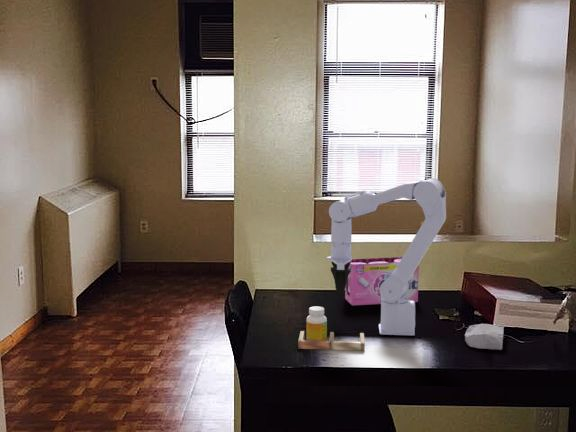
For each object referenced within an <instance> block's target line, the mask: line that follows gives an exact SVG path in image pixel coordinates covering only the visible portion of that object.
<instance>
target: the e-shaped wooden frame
mask: <svg viewBox="0 0 576 432" xmlns="http://www.w3.org/2000/svg"><path fill="white" fill-rule="evenodd" d="M299 332H300V333H299V337H298V341H297V347H298V349H299V350H300V349H303V350H324V351H325V350H330V351H332V350H333V351H353V352H356V351H357V352H359V351H360V352H365V346H366V345H365V344H366V343H365V333H364V332H360V333H359V341H345V340H344V341H343V340H342V341H341V340H335V332H334V331H329V340H327V341H318V340H306V339H305V330H300V331H299Z"/></svg>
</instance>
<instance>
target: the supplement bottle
mask: <svg viewBox="0 0 576 432" xmlns="http://www.w3.org/2000/svg"><path fill="white" fill-rule="evenodd" d="M308 314H309V315H308V316H307V317H306V320H305V321H306V322H305V323H306V330H305V331H306V333H305V334H306V335H305V336H306V338H305V340H318V341H328V336H327V335H328V320H327V319H328V318H327V317H326V315H325V308H324V307H323V306H318V305H316V306H311V307H309V308H308Z"/></svg>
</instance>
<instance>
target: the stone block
mask: <svg viewBox="0 0 576 432" xmlns="http://www.w3.org/2000/svg"><path fill="white" fill-rule="evenodd" d="M504 328H505V326H499V325H494V324H489V323H479V324H472V325H471V324H470V325H469V326H468V328H467V329H466V331H465V334H464V341H465V342H466V345H467V346H469V348H470V347H471V348H476V349H483V350H484V349H486V350H487V349H488V350H496V351H497V350H498V351H502V350H503V343H504V341H503V340H504V334H505V333H504V330H505V329H504Z"/></svg>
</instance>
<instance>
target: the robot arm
mask: <svg viewBox="0 0 576 432" xmlns="http://www.w3.org/2000/svg"><path fill="white" fill-rule="evenodd" d="M403 198H405V199H407V200H410V201H413V200H415V201H416V203H417V204H418V205H419V206H420V208H421V209H422V212H423V214H424V217H425V218H424V220H423V222H422V224H421V225H420V228H419V229H418V230H417V232H416V234H415V236H414V237H413V239H412V241H411V243H410V244H409V246H408V247H407V249H406V251H405V253H404V254H403V255H402V257H403V258H402V259H401V261H400V263H399V264H398V266H397V267H396V269H395V270H394V271H393V273H392V274H391V276H390V277H389V278H388V279H387V280H386V281H384V282H383V283H382V284H381V286H380V289H379V291H380V295H381V304H380V323H379V324H378V330H379V332H378V333H379V334H380V335H383V336H384V335H389V336H392V335H393V336H416V335H415V334H416V333H415V330H416V329H415V328H416V302H414V301H411V300H408V298H407V296H406V294H405V293H406V292H407V291H408V289H409V283H410V279H411V278H412V276H413V273H414V271H415V269H416V268H417V266H418V265H419V266H420V263H421V261H422V259H423V258H424V256H425V255H426V253H427V252H428V250H429V248H430V246H431V245H432V243H433V241H434V240H435V238H436V236H437V235H438V233H439V231H440V230H441V228H442V227H443V225H444V224H445V223H446V220H447V192H446V189H445V187H444V185H443V183H442V182H441V181H440V180H439V179H436V178H434V177H433V178H432V177H430V178H427V179H425V180H416V181H409V182H406V183H403V184H400V185H397V186H394V187H391V188H388V189H387V190H383V191H380V192H377V193H373V192H372V191H366V190H362V191H359V194H356V195H353V196H349V195H348V196H345V197H344V199H340V200H336V201H335V202H333V203H332V204H330V206H329V208H328V215H329V217H330V218H331V233H330V240H331V241H330V243H331V244H330V256H326V260H327V261H330V262H331V265H332V266H333V267H332V266H331V267H330V273H331V274H332V276H333V280H334V286H335V291H336V293H341V294H342V293H344V294H345V287H346V281H347V278H348V275H349V273H350V271H351V269H348V268H349V265H350V264H351V261H352V259H353V258H352V228H353V227H352V218H357V217H360V216H362V215H363V216H364V215H366V214H369V213H372V212H375V211H376V210H377V208H378V206H379V205H382V204H385V203H388V202H393V201H396V200H400V199H403Z"/></svg>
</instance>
